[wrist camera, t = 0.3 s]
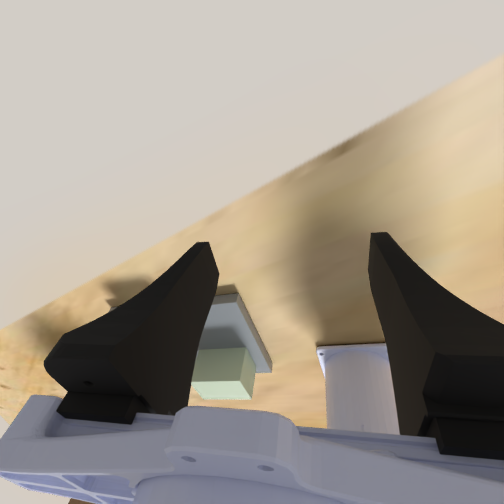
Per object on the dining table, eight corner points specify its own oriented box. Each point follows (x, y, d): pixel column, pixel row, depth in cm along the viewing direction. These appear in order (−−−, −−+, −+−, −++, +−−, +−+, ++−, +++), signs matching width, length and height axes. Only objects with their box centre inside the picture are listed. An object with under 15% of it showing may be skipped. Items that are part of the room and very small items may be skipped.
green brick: (256, 366, 37) (251, 399, 34) (211, 367, 39) (203, 399, 36) (246, 347, 34) (239, 380, 31) (199, 349, 36) (188, 381, 33)
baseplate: (272, 363, 38) (271, 372, 37) (163, 367, 43) (160, 375, 42) (238, 293, 31) (236, 302, 30) (111, 307, 35) (106, 315, 34)
